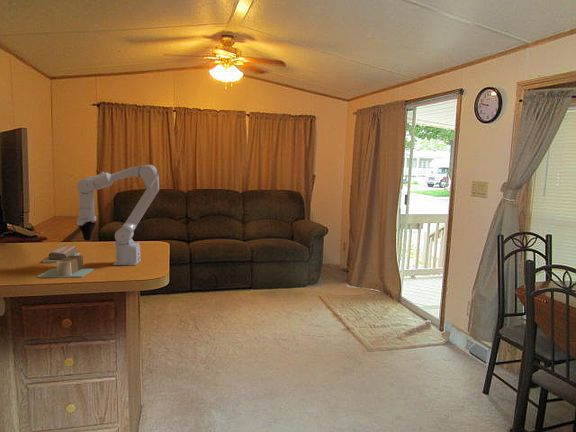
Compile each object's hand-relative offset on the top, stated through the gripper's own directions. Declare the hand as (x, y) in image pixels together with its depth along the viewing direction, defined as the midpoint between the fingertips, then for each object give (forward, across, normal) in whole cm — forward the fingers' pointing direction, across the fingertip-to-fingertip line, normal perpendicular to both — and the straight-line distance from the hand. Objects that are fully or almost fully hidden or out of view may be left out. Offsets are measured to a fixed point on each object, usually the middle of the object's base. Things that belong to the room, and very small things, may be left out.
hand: (87, 240), depth 169 cm
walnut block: (+8, +8, -1) cm, 11 cm away
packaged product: (+12, -12, -16) cm, 23 cm away
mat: (+10, +14, -2) cm, 18 cm away
